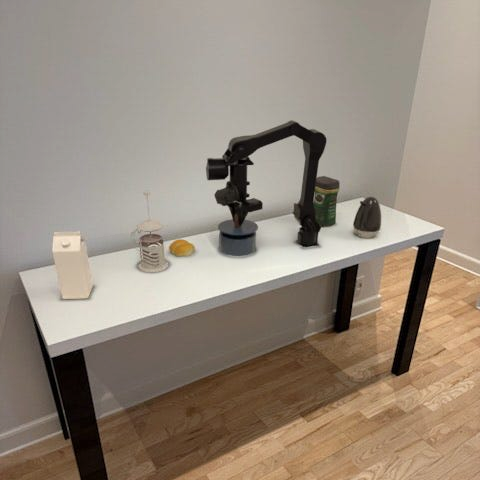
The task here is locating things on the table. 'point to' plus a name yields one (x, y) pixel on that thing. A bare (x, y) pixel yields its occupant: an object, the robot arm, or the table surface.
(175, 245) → the bread roll
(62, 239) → the milk carton
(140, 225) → the french press
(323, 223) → the coffee jar
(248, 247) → the pot
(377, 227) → the dark grey rounded figure
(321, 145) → the robot arm
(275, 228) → the table surface
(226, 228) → the pot lid
